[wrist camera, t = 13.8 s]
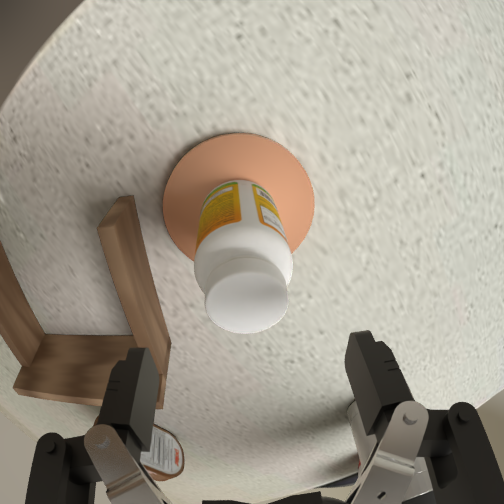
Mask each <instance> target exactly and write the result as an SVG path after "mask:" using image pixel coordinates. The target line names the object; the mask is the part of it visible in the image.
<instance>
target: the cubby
mask: <svg viewBox="0 0 504 504" xmlns="http://www.w3.org/2000/svg"><path fill="white" fill-rule="evenodd" d="M97 230H98V234H99V237H100V241H101V244H102V247H103V251H104V254H105V257H106V260H107V264H108V267H109V270H110V273H111V276H112V279H113V282H114V285H115V288H116V290H117V293H118V296H119V299H120V302H121V304H122V307H123V310H124V312H125V315H126V318H127V320H128V323H129V325H130V328H131V331H132V333H133V335H131V336H93V335H53V334H45V333H44V331H43V330H42V328H41V326H40V324H39V322H38V321H37V319H36V317H35V315H34V313H33V311H32V309H31V307H30V306H29V304H28V302H27V300H26V298H25V296H24V294H23V292H22V289H21V287H20V285H19V283H18V281H17V279H16V277H15V274H14V272H13V270H12V268H11V265H10V263H9V261H8V258H7V256H6V254H5V251H4V249H3V246H2V244H1V241H0V334H1V336H2V337H3V339H4V340H5V342H6V344H7V345H8V347H9V348H10V350H11V351H12V353H13V354H14V355H15V357H16V358H17V360H18V361H19V363H20V364H21V365H22V367H21V369H20V372H19V374H18V376H17V378H16V381H15V383H14V385H13V389H14V390H15V391H16V392H17V393H18V395H24V396H29V397H35V398H41V399H47V400H53V401H60V402H68V403H76V404H85V405H95V406H102V402H103V398H104V395H105V391H106V387H107V384H108V383H109V381H108V380H109V377H110V373H111V370H112V368H113V367H114V366H115V365H116V363H117V362H118V361H119V360H126V357H127V353H128V350H129V348H146V347H147V348H149V350H150V352H151V355H152V357H153V360H154V362H155V365H156V367H157V370H158V373H159V388H158V395H157V402H156V408H155V409H163V403H164V395H165V387H166V379H167V371H168V363H169V356H170V349H171V340H170V337H169V333H168V330H167V327H166V324H165V320H164V317H163V313H162V310H161V306H160V303H159V299H158V296H157V292H156V289H155V285H154V281H153V277H152V274H151V270H150V266H149V262H148V258H147V254H146V250H145V246H144V241H143V237H142V233H141V228H140V224H139V219H138V215H137V210H136V205H135V200H134V195H133V196H125V197H119V198H118V199H117V201H116V202H115V203H114V205H113V206H112V208H111V209H110V210H109V212H108V213H107V214H106V216H105V217H104V219H103V220H102V221H101V223H100V224H99V226H98V227H97Z"/></svg>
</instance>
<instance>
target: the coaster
mask: <svg viewBox="0 0 504 504" xmlns="http://www.w3.org/2000/svg"><path fill="white" fill-rule="evenodd" d="M233 180H247V181H251V182H254V183H256V184H258V185H260V186H262V187H263V188H264V189H265V190H267V191H268V193H269V194H270V195H271V197H272V198H273V200H274V202H275V205H276V207H277V210H278V214H279V216H280V219H281V223H282V226H283V229H284V232H285V235H286V238H287V241H288V244H289V247H290V251H291V254H292V253H293V252H294V251H295V250H296V249H297V248H298V246H299V245H300V244H301V242H302V241H303V240H304V238H305V236H306V235H307V233H308V231H309V228H310V226H311V223H312V219H313V215H314V193H313V188H312V185H311V182H310V179H309V177H308V175H307V173H306V171H305V170H304V168H303V167H302V165H301V164H300V163H299V161H298V160H297V159H296V158H295V156H294V155H293V154H292V153H291V152H290V151H288V150H287V149H286V148H285V147H283V146H282V145H280V144H278V143H277V142H275V141H273V140H271V139H268V138H266V137H263V136H259V135H256V134H249V133H230V134H223V135H219V136H216V137H213V138H210V139H208V140H205V141H203V142H202V143H200V144H198V145H197V146H195V147H194V148H192V149H191V150H190V151H189V152H187V153H186V154H185V155H184V156H183V158H182V159H181V160H180V161H179V162H178V164H177V165H176V167H175V168H174V170H173V172H172V174H171V176H170V178H169V180H168V182H167V185H166V188H165V192H164V197H163V215H164V220H165V224H166V227H167V230H168V232H169V235H170V236H171V238H172V240H173V241H174V243H175V244H176V245H177V247H178V248H179V249H180V250H181V251H182V252H183V253H184V254H185V255H186V256H187V257H188V258H190V259H191V260H192V261H194V258H195V249H196V242H197V235H198V228H199V220H200V213H201V209H202V205H203V202H204V200H205V198H206V197H207V195H208V194H209V193H210V192H211V191H212V190H213V189H214V188H216V187H217V186H219V185H221V184H223V183H225V182H228V181H233Z"/></svg>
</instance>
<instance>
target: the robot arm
mask: <svg viewBox="0 0 504 504" xmlns="http://www.w3.org/2000/svg"><path fill="white" fill-rule="evenodd" d="M345 369H346V373H347V376H348V379H349V382H350V385H351V388H352V391H353V394H354V397H355V401H354V402H353V403H352V404H351V405H350V406H349V408H348V410H347V415H348V418H349V423H350V426H351V429H352V433H353V437H354V440H355V444H356V447H357V451H358V455H359V459H360V462H361V466H362V472H361V474H360V476H359V478H358V480H357V481H356V483H355V485H354V486H353V488H352V490H351V491H350V493H349V495H348V496H347V498H346V500H345V502H344V501H341V500H339V499H335V498H330V497H322V496H321V492H320V491H319V492H313V493H307V494H300V495H293V496H289V497H287V498H284V499H281V500H278V501H275V502H272V503H268V504H504V481H503V478H502V475H501V472H500V469H499V466H498V463H497V461H496V458H495V455H494V452H493V450H492V447H491V444H490V442H489V440H488V437H487V434H486V432H485V430H484V427H483V425H482V422H481V420H480V417H479V415H478V413H477V411H476V409H475V408H474V407H473V406H472V405H471V404H469V403H466V402H458V403H455V404H454V405H452V406H451V408H450V409H449V410H430V409H426V408H425V407H424V406H423V405H422V404H420V403H418V402H416V401H415V400H414V398H413V395H412V393H411V391H410V389H409V387H408V385H407V383H406V381H405V379H404V376H403V374H402V372H401V370H400V369H399V365H398V363H397V361H396V359H395V357H394V355H393V353H392V350H391V349H390V348H389V347H388V346H387V345H386V344H385V343H384V342H383V341H378V342H375V340H374V338H373V336H372V334H371V332H370V331H369V330H366V331H360V332H353V333H351V334H350V336H349V341H348V346H347V350H346V354H345ZM108 381H109V383H108V384H107V387H106V391H105V395H104V398H103V402H102V406H101V410H100V414H99V418H98V421H97V424H96V426H93V427H92V428H90V429H89V430H88V431H87V433H86V434H85V435H83V436H79V437H73V438H67V439H63V438H62V437H61V436H60V435H59V434H57V433H47V434H45V435H43V436H42V437H41V438H40V439H39V440H38V442H37V445H36V450H35V454H34V458H33V463H32V467H31V472H30V477H29V482H28V488H27V494H26V500H25V504H94V498H95V488H96V487H95V486H96V482H99V481H103V482H104V484H105V486H106V488H107V491H106V493H107V496H108V498H109V500H110V502H111V503H112V504H172V502H171V501H170V500H169V499H168V498H167V497H166V496H165V494H164V493H163V492H162V490H161V489H160V488H159V486H158V485H157V484H156V482H155V481H154V480H153V478H152V477H151V475H150V474H149V472H148V471H147V470H146V468H145V467H144V465H143V464H142V462H141V461H140V457H141V452H150V446H151V438H152V430H153V423H154V415H155V408H156V402H157V395H158V388H159V373H158V370H157V367H156V365H155V362H154V360H153V357H152V355H151V352H150V350H149V348H147V347H146V348H129V350H128V353H127V357H126V360H119V361H118V362H117V363H116V365H115V366H114V367H113V368H112V370H111V373H110V377H109V380H108ZM202 504H249V503H243V502H238V501H232V500H217V501H209V500H202Z"/></svg>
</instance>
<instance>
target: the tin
mask: <svg viewBox="0 0 504 504" xmlns="http://www.w3.org/2000/svg"><path fill="white" fill-rule="evenodd" d="M98 418H99V416H98V417H97V418H96V420H95V422H94V425H93V426H96V424H97V421H98ZM140 461H141V462H142V464H143V465H144V467H145V468H146V470H147V471H148V472H149V474H150V475H151V477H152V478H153V480H156V481H166V480H168V479H171V478H174V477H177V476H178V475H180V474H181V473H182V471H183V469H184V452H183V449H182V447H181V445H180V443H179V442H178V440H177V439H176V438H175V437H174V436H173V435H172V434H171V433H170V432H168V431H166V430H164V429H162V428H160V427H158V426H156V425H154V424H153V430H152V438H151V446H150V452H141V457H140Z"/></svg>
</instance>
